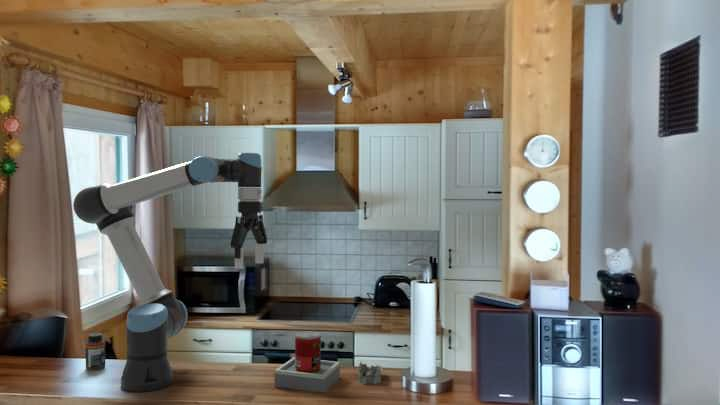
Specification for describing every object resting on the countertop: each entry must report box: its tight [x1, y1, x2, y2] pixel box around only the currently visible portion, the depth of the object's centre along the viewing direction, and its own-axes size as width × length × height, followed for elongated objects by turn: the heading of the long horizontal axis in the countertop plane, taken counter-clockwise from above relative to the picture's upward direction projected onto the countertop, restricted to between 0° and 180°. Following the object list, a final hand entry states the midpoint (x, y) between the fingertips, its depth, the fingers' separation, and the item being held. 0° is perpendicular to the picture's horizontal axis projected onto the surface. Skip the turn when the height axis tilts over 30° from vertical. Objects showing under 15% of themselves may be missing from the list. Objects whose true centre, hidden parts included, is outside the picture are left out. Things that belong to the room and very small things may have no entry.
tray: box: [274, 356, 341, 394], centre depth 176 cm, size 16×14×5 cm
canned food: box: [294, 330, 322, 373], centre depth 176 cm, size 8×8×11 cm
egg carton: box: [357, 361, 383, 385], centre depth 180 cm, size 11×8×4 cm
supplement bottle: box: [85, 332, 106, 371], centre depth 188 cm, size 6×6×11 cm
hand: (249, 266), depth 185 cm, fingers open, 13 cm apart
